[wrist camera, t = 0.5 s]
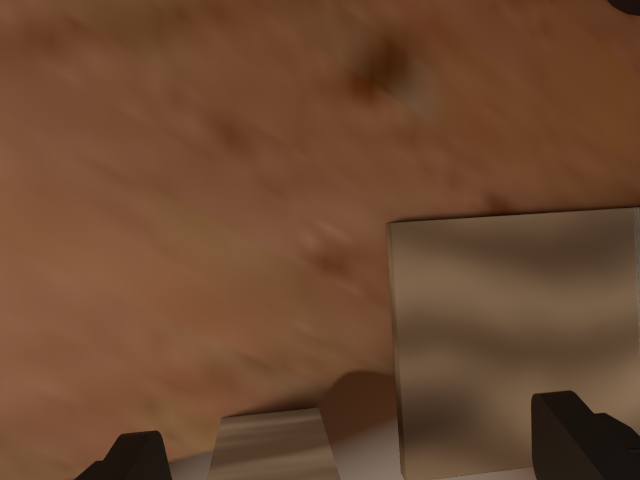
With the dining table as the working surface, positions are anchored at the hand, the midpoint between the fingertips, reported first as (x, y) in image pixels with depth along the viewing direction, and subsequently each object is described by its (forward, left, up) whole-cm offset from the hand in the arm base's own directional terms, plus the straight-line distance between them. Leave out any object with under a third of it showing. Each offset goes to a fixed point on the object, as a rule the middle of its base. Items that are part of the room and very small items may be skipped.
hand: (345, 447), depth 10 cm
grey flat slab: (+3, +15, -19) cm, 25 cm away
